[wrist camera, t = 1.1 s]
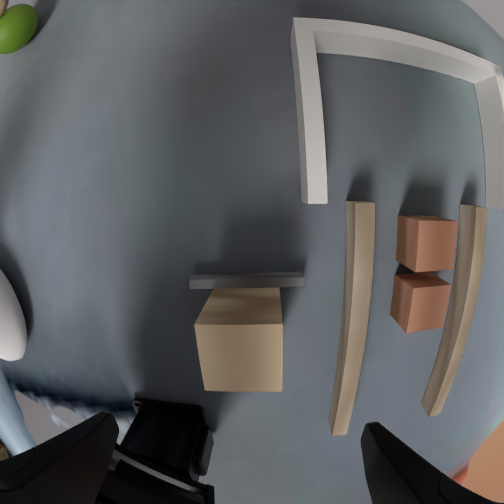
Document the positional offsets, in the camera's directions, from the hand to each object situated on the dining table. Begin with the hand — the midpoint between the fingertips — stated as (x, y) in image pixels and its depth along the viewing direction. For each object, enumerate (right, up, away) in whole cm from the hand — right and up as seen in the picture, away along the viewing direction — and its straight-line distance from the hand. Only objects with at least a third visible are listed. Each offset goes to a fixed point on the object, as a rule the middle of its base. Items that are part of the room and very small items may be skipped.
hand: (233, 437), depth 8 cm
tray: (+11, +15, +7) cm, 20 cm away
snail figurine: (-21, +28, +6) cm, 36 cm away
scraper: (0, +2, +11) cm, 11 cm away
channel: (+12, +1, +10) cm, 16 cm away
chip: (+12, +7, +9) cm, 16 cm away
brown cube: (+12, +3, +10) cm, 16 cm away
